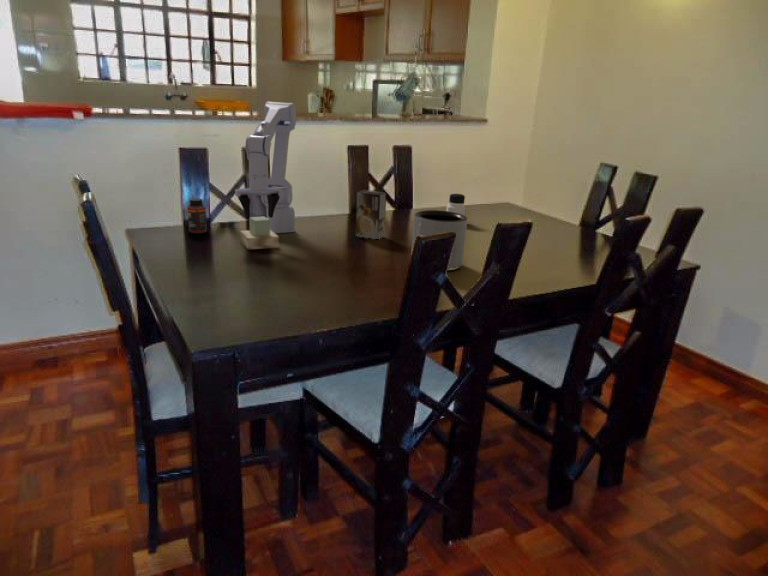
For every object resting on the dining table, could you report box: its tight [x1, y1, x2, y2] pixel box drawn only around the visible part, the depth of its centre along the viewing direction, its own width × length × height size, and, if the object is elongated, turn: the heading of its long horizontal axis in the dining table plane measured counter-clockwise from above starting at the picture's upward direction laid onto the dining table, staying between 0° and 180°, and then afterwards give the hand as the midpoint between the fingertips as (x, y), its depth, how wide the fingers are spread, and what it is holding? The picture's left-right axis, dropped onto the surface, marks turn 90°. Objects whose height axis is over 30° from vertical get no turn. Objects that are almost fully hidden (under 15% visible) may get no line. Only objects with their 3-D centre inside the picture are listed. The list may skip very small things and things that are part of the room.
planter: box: [410, 209, 468, 269], centre depth 170 cm, size 16×16×16 cm
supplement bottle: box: [187, 198, 208, 234], centre depth 191 cm, size 6×6×11 cm
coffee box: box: [355, 189, 387, 240], centre depth 198 cm, size 9×6×16 cm
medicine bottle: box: [445, 193, 467, 216], centre depth 229 cm, size 7×7×12 cm
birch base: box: [239, 229, 280, 250], centre depth 182 cm, size 10×10×4 cm
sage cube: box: [248, 215, 270, 236], centre depth 181 cm, size 5×5×5 cm
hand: (259, 217), depth 180 cm, fingers open, 7 cm apart
